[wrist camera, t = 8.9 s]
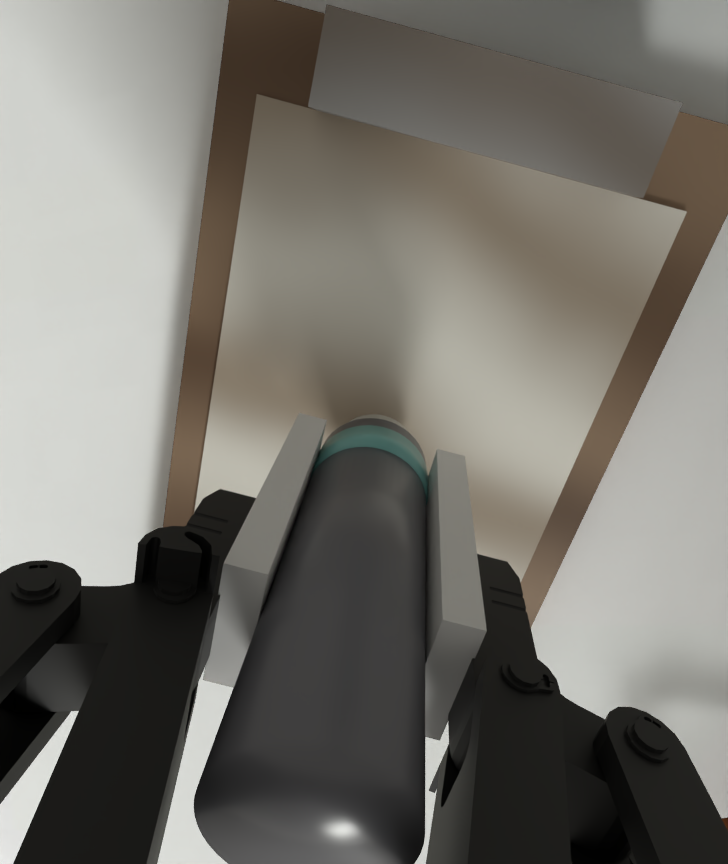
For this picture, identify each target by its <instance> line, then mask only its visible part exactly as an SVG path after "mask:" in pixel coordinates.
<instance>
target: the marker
mask: <svg viewBox="0 0 728 864" xmlns="http://www.w3.org/2000/svg"><path fill="white" fill-rule="evenodd" d="M427 502H428V473H427V468H426V462H425V457H424V454H423V451H422V449H421V447H420V445H419V443H418V442H417V441H416V439H415V438H414V437H413V436H412V435H411V434H410V433H409V431H408V430H407V429H406V428H405V427H404V426H403V425H402V424H401V423H399V422H398V421H396V420H395V419H392V418H390V417H387V416H384V415H378V414H368V415H363V416H360V417H357V418H355V419H353V420H351V421H349V422H348V423H346V424H343V425H342V426H340V427H338V428H337V429H336V430H335V431H333V432H332V433H331V434H330V435H329V437H328V438H327V439H326V441H325V442H324V444H323V446H322V448H321V449H320V451H319V454H318V456H317V459H316V462H315V465H314V467H313V470H312V474H311V478H310V481H309V484H308V487H307V489H306V492H305V495H304V497H303V500H302V503H301V506H300V508H299V511H298V514H297V517H296V519H295V522H294V525H293V528H292V530H291V533H290V536H289V539H288V541H287V544H286V547H285V549H284V552H283V555H282V558H281V560H280V563H279V566H278V569H277V571H276V574H275V577H274V580H273V582H272V585H271V588H270V591H269V593H268V596H267V599H266V601H265V604H264V607H263V610H262V612H261V615H260V618H259V621H258V623H257V626H256V628H255V631H254V634H253V637H252V639H251V642H250V645H249V648H248V650H247V653H246V656H245V659H244V661H243V664H242V667H241V669H240V672H239V675H238V678H237V680H236V683H235V686H234V689H233V691H232V694H231V697H230V699H229V702H228V705H227V708H226V710H225V713H224V716H223V719H222V721H221V724H220V727H219V730H218V732H217V735H216V738H215V740H214V743H213V746H212V749H211V751H210V754H209V757H208V760H207V762H206V765H205V768H204V771H203V773H202V776H201V779H200V781H199V784H198V787H197V790H196V794H195V798H194V813H195V818H196V821H197V825H198V827H199V829H200V831H201V833H202V835H203V837H204V838H205V840H206V841H207V843H208V844H209V845H210V846H211V848H212V849H213V850H214V851H215V852H216V853H217V854H218V855H219V856H220V857H221V858H222V859H223V860H225V861H226V862H227V863H228V864H414V863H415V862H416V860H417V858H418V857H419V855H420V853H421V850H422V847H423V844H424V837H425V638H426V505H427Z"/></svg>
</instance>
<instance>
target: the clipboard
mask: <svg viewBox="0 0 728 864" xmlns="http://www.w3.org/2000/svg"><path fill="white" fill-rule="evenodd" d="M682 104H683V103H682V102H678V101H675V100H671V99H667V98H664V97H660V96H656V95H653V94H649V93H646V92H642V91H638V90H635V89H631V88H627V87H624V86H620V85H617V84H613V83H609V82H606V81H602V80H599V79H595V78H591V77H588V76H584V75H580V74H577V73H573V72H570V71H566V70H562V69H559V68H555V67H551V66H548V65H544V64H541V63H537V62H533V61H530V60H526V59H522V58H519V57H515V56H512V55H508V54H504V53H501V52H497V51H493V50H490V49H486V48H483V47H479V46H475V45H472V44H468V43H465V42H461V41H457V40H454V39H450V38H446V37H443V36H439V35H436V34H432V33H428V32H425V31H421V30H417V29H414V28H410V27H407V26H403V25H399V24H396V23H392V22H388V21H385V20H381V19H378V18H374V17H370V16H367V15H363V14H360V13H356V12H352V11H349V10H345V9H341V8H338V7H334V6H331V5H326V11H325V14H324V13H320V12H317V11H313V10H309V9H306V8H302V7H299V6H295V5H291V4H288V3H284V2H280V1H277V0H229V5H228V13H227V21H226V29H225V36H224V44H223V52H222V60H221V68H220V76H219V84H218V92H217V100H216V108H215V116H214V124H213V132H212V140H211V148H210V156H209V164H208V172H207V180H206V188H205V196H204V204H203V212H202V220H201V228H200V236H199V244H198V252H197V260H196V268H195V276H194V284H193V292H192V300H191V308H190V315H189V323H188V331H187V339H186V347H185V355H184V363H183V371H182V379H181V387H180V395H179V403H178V411H177V419H176V427H175V435H174V443H173V451H172V459H171V467H170V475H169V483H168V491H167V499H166V507H165V515H164V523H163V527H169V526H186V525H187V522H188V521H189V519H190V518H191V516H192V515H194V512H195V510H196V509H197V507H198V506H199V504H200V503H201V501H202V499H203V498H205V497H206V496H208V495H210V494H212V493H214V492H215V491H217V490H219V489H223V490H227V491H231V492H234V493H238V494H242V495H246V496H250V497H254V498H257V496H258V494H259V492H260V490H261V488H262V486H263V484H264V482H265V480H266V478H267V476H268V474H269V472H270V470H271V468H272V466H273V464H274V462H275V460H276V458H277V456H278V454H279V452H280V450H281V448H282V446H283V444H284V442H285V440H286V438H287V436H288V434H289V432H290V430H291V428H292V426H293V424H294V422H295V420H296V418H297V416H298V414H299V413H302V414H306V415H310V416H313V417H317V418H321V419H325V420H327V422H326V427H325V431H324V435H323V439H322V444H321V448H322V446H323V444H324V442H325V441H326V439H327V438H328V437H329V435H330V434H331V433H332V432H333V431H335V430H336V429H337V428H338V427H340V426H342V425H343V424H346V423H348V422H349V421H351V420H353V419H355V418H357V417H360V416H363V415H368V414H378V415H384V416H387V417H390V418H392V419H395V420H396V421H398V422H399V423H401V424H402V425H403V426H404V427H405V428H406V429H407V430H408V431H409V433H410V434H411V435H412V436H413V437H414V438H415V439H416V441H417V442H418V443H419V445H420V447H421V449H422V451H423V454H424V457H425V462H426V468H427V473H428V475H429V472H430V469H431V466H432V463H433V460H434V457H435V454H436V451H437V449H440V450H443V451H447V452H451V453H455V454H459V455H463V456H465V462H466V470H467V478H468V486H469V494H470V502H471V509H472V517H473V525H474V533H475V541H476V549H477V554H480V555H484V556H487V557H491V558H495V559H499V560H503V561H507V562H508V563H509V565H510V566H511V567H512V569H513V570H514V571H515V573H516V574H517V576H518V577H519V578H520V583H521V587H522V592H523V598H524V601H525V606H526V612H527V615H528V619H529V624H530V628H531V626H532V624H533V622H534V620H535V618H536V616H537V613H538V611H539V609H540V607H541V605H542V603H543V601H544V599H545V597H546V595H547V592H548V590H549V588H550V586H551V584H552V582H553V580H554V578H555V576H556V574H557V571H558V569H559V567H560V565H561V563H562V561H563V559H564V557H565V555H566V553H567V550H568V548H569V546H570V544H571V542H572V540H573V538H574V536H575V534H576V532H577V529H578V527H579V525H580V523H581V521H582V519H583V517H584V515H585V513H586V511H587V508H588V506H589V504H590V502H591V500H592V498H593V496H594V494H595V492H596V490H597V487H598V485H599V483H600V481H601V479H602V477H603V475H604V473H605V471H606V469H607V466H608V464H609V462H610V460H611V458H612V456H613V454H614V452H615V450H616V448H617V445H618V443H619V441H620V439H621V437H622V435H623V433H624V431H625V429H626V427H627V424H628V422H629V420H630V418H631V416H632V414H633V412H634V410H635V408H636V406H637V403H638V401H639V399H640V397H641V395H642V393H643V391H644V389H645V387H646V385H647V382H648V380H649V378H650V376H651V374H652V372H653V370H654V368H655V366H656V364H657V361H658V359H659V357H660V355H661V353H662V351H663V349H664V347H665V345H666V343H667V340H668V338H669V336H670V334H671V332H672V330H673V328H674V326H675V324H676V322H677V319H678V317H679V315H680V313H681V311H682V309H683V307H684V305H685V303H686V301H687V298H688V296H689V294H690V292H691V290H692V288H693V286H694V284H695V282H696V280H697V277H698V275H699V273H700V271H701V269H702V267H703V265H704V263H705V261H706V259H707V256H708V254H709V252H710V250H711V248H712V246H713V244H714V242H715V240H716V238H717V235H718V233H719V231H720V229H721V227H722V225H723V223H724V221H725V219H726V217H727V214H728V125H726V124H723V123H719V122H715V121H712V120H708V119H704V118H701V117H697V116H694V115H690V114H686V113H683V112H679V111H680V109H681V106H682ZM321 448H320V449H321Z"/></svg>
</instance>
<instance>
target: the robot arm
mask: <svg viewBox="0 0 728 864" xmlns="http://www.w3.org/2000/svg"><path fill="white" fill-rule="evenodd" d="M326 422H327V420H325V419H321V418H317V417H313V416H310V415H306V414H302V413H299V414H298V416H297V418H296V420H295V422H294V424H293V426H292V428H291V430H290V432H289V434H288V436H287V438H286V440H285V442H284V444H283V446H282V448H281V450H280V452H279V454H278V456H277V458H276V460H275V462H274V464H273V466H272V468H271V470H270V472H269V474H268V476H267V478H266V480H265V482H264V484H263V486H262V488H261V490H260V492H259V494H258V496H257V498H254V497H250V496H246V495H242V494H238V493H234V492H231V491H227V490H223V489H219V490H217V491H215V492H214V493H212V494H210V495H208V496H206V497H205V498H203V499H202V501H201V503H200V504H199V506H198V507H197V509H196V510H195V512H194V515H192V516H191V518H190V519H189V521H188V522H187V525H186V526H169V527H163V528H158V529H156V530H154V531H152V532H150V533H148V534H146V535H145V536H144V537H143V538H142V540H141V541H140V542H139V543H138V551H137V561H136V571H135V581H134V583H131V584H126V585H122V586H81V578H80V576H79V575H78V574H77V572H76V571H75V570H74V569H73V568H71V567H69V566H67V565H65V564H63V563H59V562H53V561H47V560H45V561H29V562H26V563H22V564H19V565H15V566H12V567H10V568H9V569H7V570H5V571H4V572H2V573H0V804H1V802H2V801H3V800H4V798H5V797H6V796H7V795H8V793H9V792H10V791H11V789H12V788H13V787H14V785H15V784H16V783H17V781H18V780H19V779H20V778H21V776H22V775H23V774H24V772H25V771H26V770H27V768H28V767H29V766H30V765H31V763H32V762H33V761H34V759H35V758H36V757H37V755H38V754H39V753H40V752H41V750H42V749H43V748H44V746H45V745H46V744H47V742H48V741H49V740H50V739H51V737H52V736H53V735H54V733H55V732H56V731H57V729H58V728H59V727H60V726H61V724H62V723H63V722H64V720H65V719H66V718H67V716H68V715H69V714H70V712H71V711H79V712H78V715H77V717H76V719H75V722H74V724H73V726H72V729H71V731H70V733H69V736H68V738H67V740H66V743H65V745H64V747H63V750H62V752H61V754H60V757H59V759H58V761H57V764H56V766H55V768H54V771H53V773H52V775H51V777H50V780H49V782H48V784H47V787H46V789H45V791H44V794H43V796H42V798H41V801H40V803H39V805H38V808H37V810H36V812H35V815H34V817H33V819H32V822H31V824H30V826H29V829H28V831H27V833H26V836H25V838H24V840H23V843H22V845H21V847H20V850H19V852H18V854H17V857H16V859H15V861H14V863H13V864H157V862H158V857H159V853H160V849H161V845H162V840H163V836H164V832H165V828H166V823H167V819H168V815H169V810H170V806H171V802H172V798H173V793H174V789H175V785H176V780H177V776H178V772H179V768H180V763H181V759H182V755H183V751H184V746H185V742H186V738H187V733H188V729H189V725H190V721H191V716H192V712H193V708H194V703H195V699H196V693H197V687H198V681H199V679H200V677H201V674H202V672H203V670H204V667H205V671H204V677H203V680H205V681H209V682H213V683H217V684H221V685H225V686H229V687H233V688H234V686H235V683H236V680H237V678H238V675H239V672H240V669H241V667H242V664H243V661H244V659H245V656H246V653H247V650H248V648H249V645H250V642H251V639H252V637H253V634H254V631H255V628H256V626H257V623H258V621H259V618H260V615H261V612H262V610H263V607H264V604H265V601H266V599H267V596H268V593H269V591H270V588H271V585H272V582H273V580H274V577H275V574H276V571H277V569H278V566H279V563H280V560H281V558H282V555H283V552H284V549H285V547H286V544H287V541H288V539H289V536H290V533H291V530H292V528H293V525H294V522H295V519H296V517H297V514H298V511H299V508H300V506H301V503H302V500H303V497H304V495H305V492H306V489H307V487H308V484H309V481H310V478H311V474H312V470H313V467H314V465H315V462H316V459H317V456H318V454H319V451H320V448H321V444H322V439H323V435H324V431H325V427H326ZM205 665H206V666H205ZM447 722H448V724H449V745H448V747H447V750H446V752H445V754H444V756H443V759H442V761H441V763H440V765H439V768H438V770H437V772H436V774H435V777H434V779H433V781H432V784H431V786H430V789H429V791H431V792H434V793H435V791H436V789H437V793H436V799H435V806H434V813H433V820H432V827H431V833H430V840H429V847H428V854H427V860H426V864H728V830H727V828H726V826H725V824H724V822H723V821H722V819H721V817H720V815H719V813H718V811H717V809H716V807H715V805H714V803H713V801H712V799H711V798H710V796H709V794H708V792H707V790H706V788H705V786H704V784H703V782H702V780H701V778H700V776H699V774H698V773H697V771H696V769H695V767H694V765H693V763H692V761H691V759H690V757H689V755H688V753H687V751H686V750H685V748H684V746H683V745H682V744H681V742H680V741H679V739H678V738H677V736H676V735H675V734H674V733H673V732H672V731H671V730H670V729H669V728H668V727H667V726H666V725H665V724H663V723H662V722H661V721H660V720H658V719H656V718H655V717H653V716H651V715H650V714H648V713H647V712H644V711H641V710H638V709H635V708H632V707H618V708H616V709H614V710H612V711H610V712H609V714H608V715H607V717H606V719H603V718H601V717H599V716H597V715H595V714H593V713H592V712H590V711H588V710H586V709H584V708H582V707H580V706H578V705H576V704H575V703H573V702H571V701H570V700H568V699H566V698H565V697H564V696H563V695H561V694H560V690H559V686H558V683H557V680H556V678H555V677H554V675H553V674H552V673H551V671H550V670H549V668H548V667H547V666H545V665H544V664H543V663H542V662H541V661H539V660H538V659H537V656H536V651H535V646H534V642H533V637H532V633H531V628H530V624H529V619H528V615H527V612H526V606H525V601H524V598H523V592H522V587H521V583H520V578H519V577H518V576H517V574H516V573H515V571H514V570H513V569H512V567H511V566H510V565H509V563H508V562H507V561H503V560H499V559H495V558H491V557H487V556H484V555H480V554H477V549H476V541H475V533H474V525H473V517H472V509H471V502H470V494H469V486H468V478H467V470H466V462H465V456H463V455H459V454H455V453H451V452H447V451H443V450H440V449H437V451H436V454H435V457H434V460H433V463H432V466H431V469H430V472H429V475H428V502H427V505H426V638H425V737H429V738H433V739H436V740H440V739H441V736H442V734H443V732H444V729H445V727H446V725H447Z"/></svg>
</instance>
